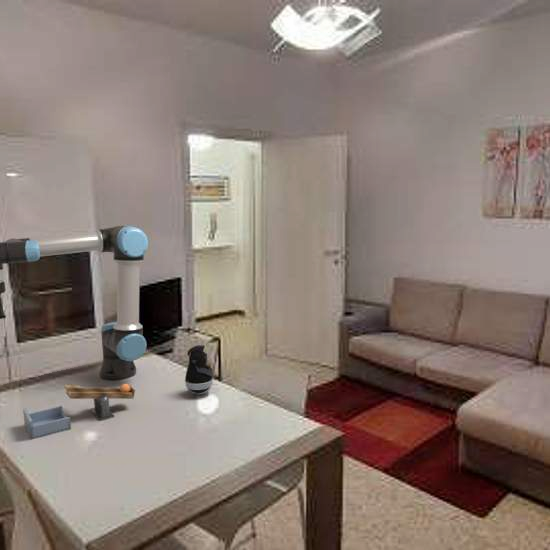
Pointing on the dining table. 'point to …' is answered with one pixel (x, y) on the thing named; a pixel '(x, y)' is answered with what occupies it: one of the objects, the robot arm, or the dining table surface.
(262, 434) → the dining table surface
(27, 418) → the tray
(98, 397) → the lever
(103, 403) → the stand
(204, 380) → the toy
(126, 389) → the ball
